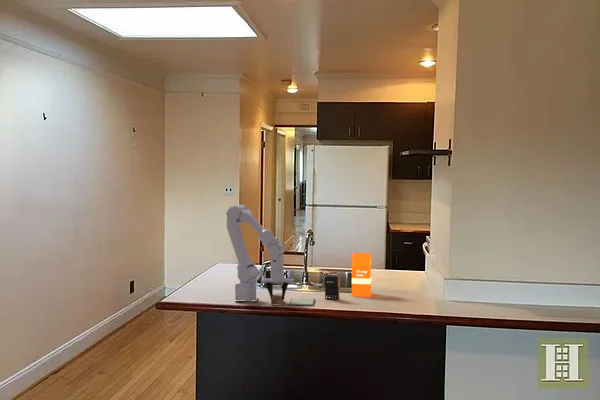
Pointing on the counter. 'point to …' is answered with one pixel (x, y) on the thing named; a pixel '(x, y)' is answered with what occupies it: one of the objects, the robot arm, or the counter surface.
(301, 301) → the mat
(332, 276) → the black upright block
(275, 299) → the tan block
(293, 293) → the counter surface
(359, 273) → the orange juice
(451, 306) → the counter surface
